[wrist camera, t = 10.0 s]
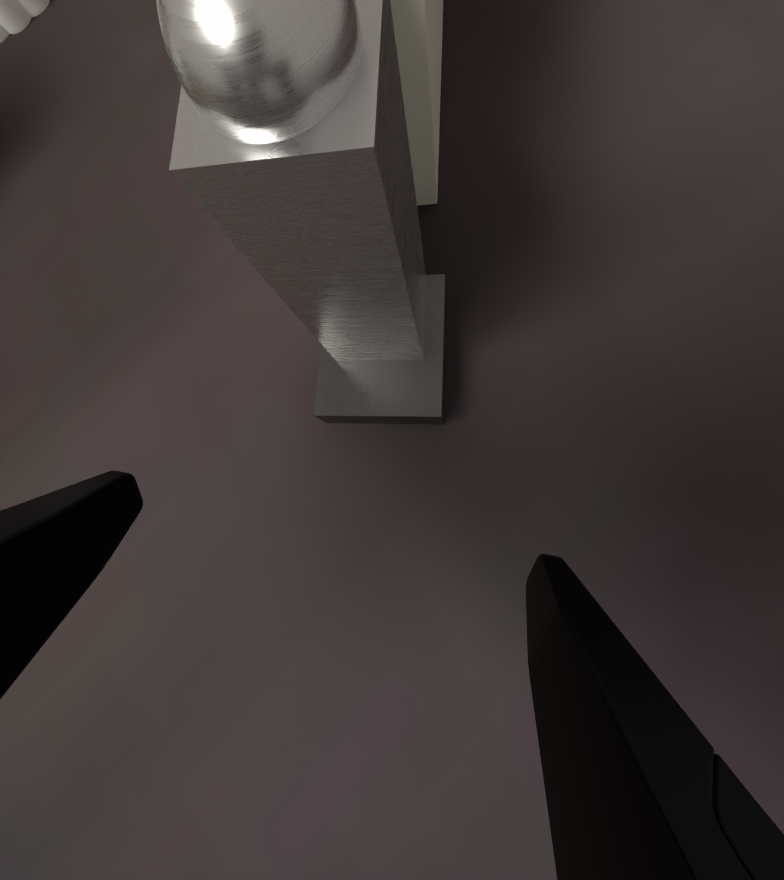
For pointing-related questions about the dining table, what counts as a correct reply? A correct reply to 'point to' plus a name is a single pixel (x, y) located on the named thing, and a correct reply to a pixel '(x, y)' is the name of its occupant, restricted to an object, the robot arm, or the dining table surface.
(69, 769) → the dining table surface
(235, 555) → the dining table surface
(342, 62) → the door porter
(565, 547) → the dining table surface
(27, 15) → the mooncake
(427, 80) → the white slotted block
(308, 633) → the dining table surface
